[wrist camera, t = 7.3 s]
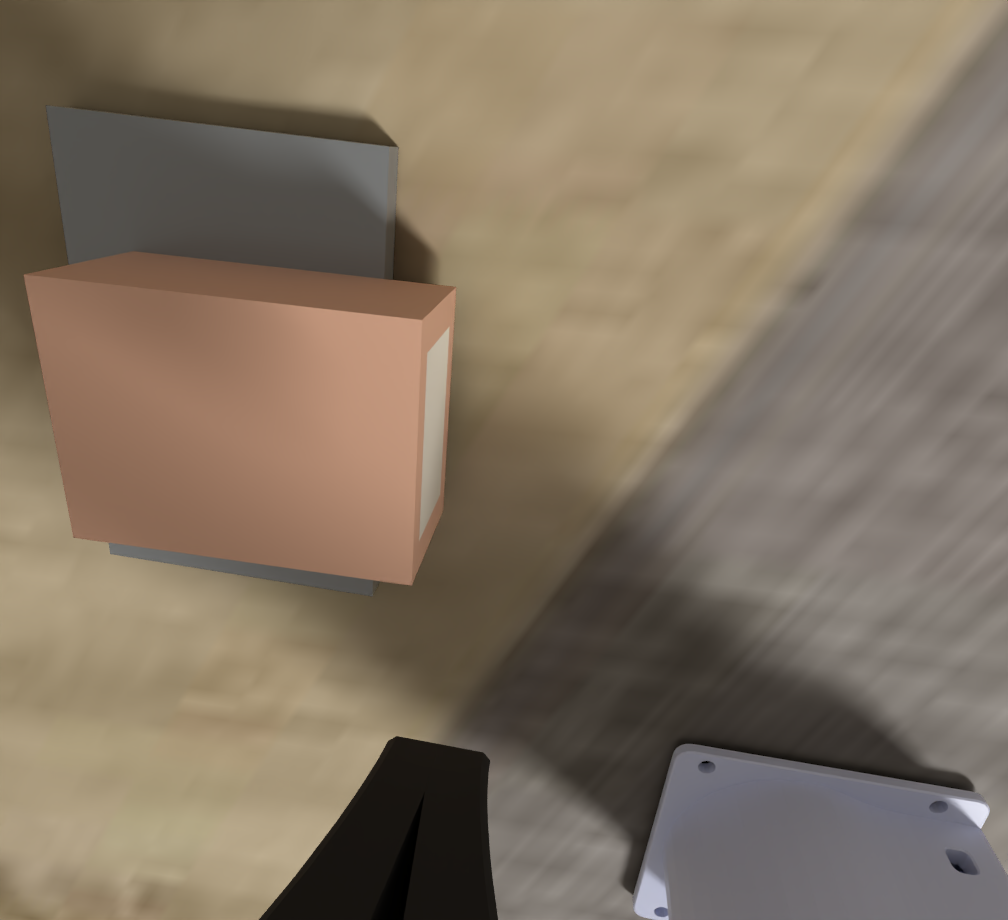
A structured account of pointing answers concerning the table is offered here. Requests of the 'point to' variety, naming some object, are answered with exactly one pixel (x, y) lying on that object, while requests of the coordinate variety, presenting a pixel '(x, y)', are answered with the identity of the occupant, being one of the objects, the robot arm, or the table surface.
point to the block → (249, 409)
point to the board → (224, 221)
